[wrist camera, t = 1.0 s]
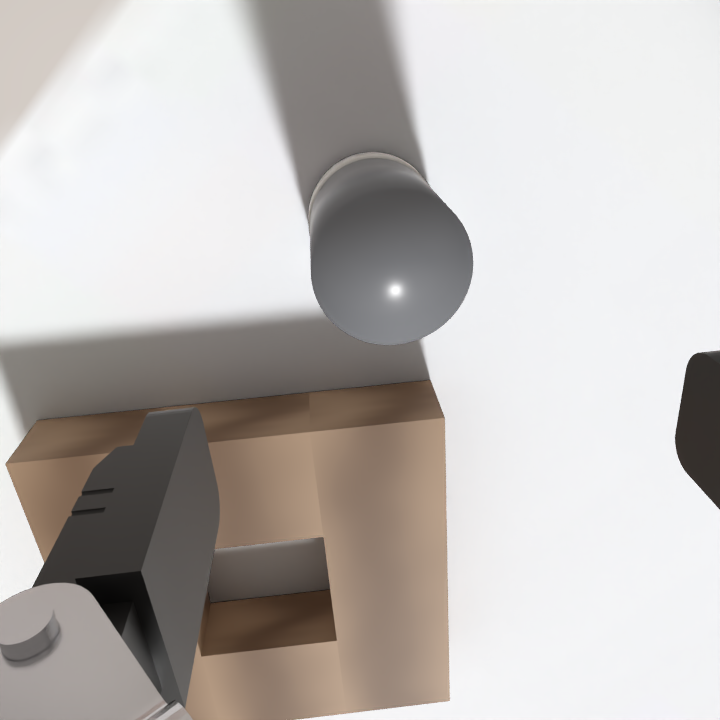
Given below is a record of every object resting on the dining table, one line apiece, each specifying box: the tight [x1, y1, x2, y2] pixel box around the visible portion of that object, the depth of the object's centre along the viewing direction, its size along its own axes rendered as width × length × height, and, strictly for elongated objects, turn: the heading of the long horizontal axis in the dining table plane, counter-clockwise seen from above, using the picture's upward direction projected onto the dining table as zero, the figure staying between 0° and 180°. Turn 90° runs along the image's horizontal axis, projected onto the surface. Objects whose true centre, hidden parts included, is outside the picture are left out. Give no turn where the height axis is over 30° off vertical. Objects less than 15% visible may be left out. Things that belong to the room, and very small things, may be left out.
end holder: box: [6, 380, 450, 720], centre depth 28 cm, size 16×16×3 cm
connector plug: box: [308, 152, 473, 345], centre depth 20 cm, size 4×4×6 cm
